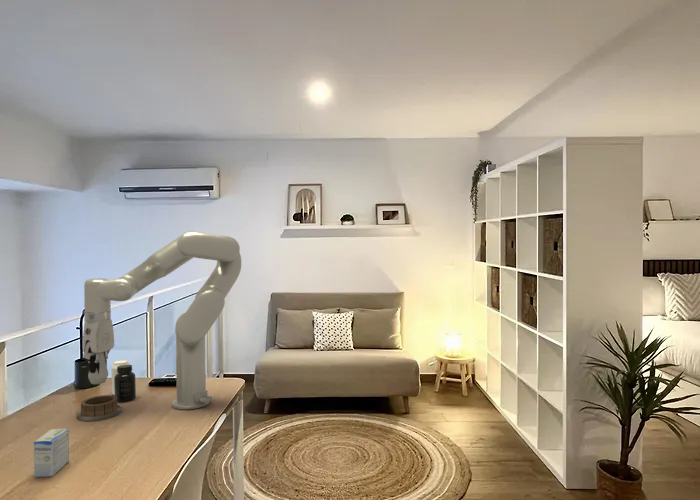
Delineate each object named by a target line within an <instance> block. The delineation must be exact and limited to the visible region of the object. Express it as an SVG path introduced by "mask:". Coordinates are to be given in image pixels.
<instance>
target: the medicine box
mask: <svg viewBox="0 0 700 500" xmlns="http://www.w3.org/2000/svg"><path fill="white" fill-rule="evenodd" d="M69 461H70V431H69V428H51V429H49V430H48V431H47V432H45V433H44V434H43V435H42V436H40V437H39V438H38V439H36V440H34V442H33V477H34V478H47V477H49V478H50V477H53V476H55V475H56V474H57V473H58V472H59V471H60V470H62V468H63V467H64V466H66V464H67V463H69Z"/></svg>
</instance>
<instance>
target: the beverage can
mask: <svg viewBox="0 0 700 500" xmlns="http://www.w3.org/2000/svg"><path fill="white" fill-rule="evenodd" d="M121 365H131V364H130V362H129V360H127V359H121V360H120V359H119V360H116V361H114V362H113V363H112V366H111V393H112V394H111V395H113V396H115V389H114V377H115V375H116V374H118V372H117V367H118V366H121Z"/></svg>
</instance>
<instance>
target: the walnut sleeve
mask: <svg viewBox="0 0 700 500" xmlns="http://www.w3.org/2000/svg"><path fill="white" fill-rule="evenodd" d="M122 408H123V407H122V406H121V405H118V402H117V396H115V395H114V394H103V395H96V396H92V397H91V396H90V397H88V398H86V399H83V400H81V402H80V410H79V411H78V412H77V413H76V420H78V421H80V422H88V423H89V422H99V421H105V420H108V419H112V418H115V417H116V416H119V415H120V414H122V412H123V411H122Z"/></svg>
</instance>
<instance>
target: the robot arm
mask: <svg viewBox="0 0 700 500" xmlns="http://www.w3.org/2000/svg"><path fill="white" fill-rule="evenodd" d="M240 250H241V249H240V244H239V242H238V241H237V239H235V238H234V237H231V236H229V235H228V236H226V235H219V234H212V233H206V232H199V231H194V230H193V231H192V230H190V231H186V232H184V233H183V234H181V235H180V236H178V237H176V238H175V239H174V240H172V241H170V242H169V243H168V244H166V245H164V246H163V247H161V248H159V250H156V251H155V252H154V253H152V254H151V255H149V257H147V258H146V260H144V261H143V262H142V263H140V264H139V265H137V266H136V267H134V268H133V269H131V270H129V271H128V272H127V273H125V274H123V275H122V276H121V277H118V278H114V279H107V278H100V277H99V278H89V279H87V280H85V281H84V285H83V287H84V292H83V293H84V295H83V296H84V305H83V306H84V325H83V332H82V351H83V355H82V358H84V359H85V360H87V363H88V364H89V365H88V368H89V369H88V374H89V373H90V372H91V373H95V372H96V368H97V371H98V374H99V369H100V362H98V356H99V353H102V352H103V353H104V357H105V361H106V366H107V367H108V358H109V353H110V352H111V350H112V349H114V347H115V334H114V333H115V331H114V325H113V320H112V318H111V317H112V316H111V315H112V313H111V312H112V311H111V306H112V305H111V303H112V301H113V302H126V301H129V300H130V299H132V298H133V297H134V296H135V295H136V294H137V293H139V292H141V291H142V290H143V289H145V288H146V287H147V286H149V285H151V284H153V283H154V282H156V281H157V280H159V279H162V278H164V277H167V276H168V275H170V274H171V273H174V272H175V271H176V270H177V269H179V268H181V266H183V265H185V264H186V263H188V262H190V261H191V260H192V259H194V258H195V259H200V260H201V259H202V260H211V261H216V265H215V267H214V269H213V270H212V272H211V273H210V275H209V277H208V278H207V280H206V281H205V282H204V284H203V285H202V287H200V289H198V291H197V292H196V294H195V297H194V299H193V301H192V303H191V304H190V305H189V307H188V308H187V310H186V311H185V312H184V313H182V314H181V315H179V317H178V318H177V320H176V321H175V322H176V323H175V328H174V329H175V330H174V331H175V359H176V360H175V365H176V368H175V370H176V371H175V374H176V375H175V376H176V398H175V399H173V400H172V402H171V407H172V408H174V409H176V410H184V411H185V410H195V409H200V408H203V407H206V406H207V405H209V404H210V403H211V401H212V400H213V397H212V396H211V395H208V390H207V389H206V387H207V386H206V384H207V383H206V379H207V378H206V335H207V334H208V332H210V331H209V330H211V328H212V327H213V325H214V324H215V322H216V320H217V319H218V318H219V316H220V315H221V313H222V312H223V309H224V307H225V303H226V301H225V298H226V297H227V296H228V294H229V292H230V291H231V289H232V288H233V287H234V285H235V283H236V281H237V279H238V278H239V276H240V274H241V270H242V255H241V253H240ZM92 352H93V353H92ZM92 355H95V357H94V356H92Z"/></svg>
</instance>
